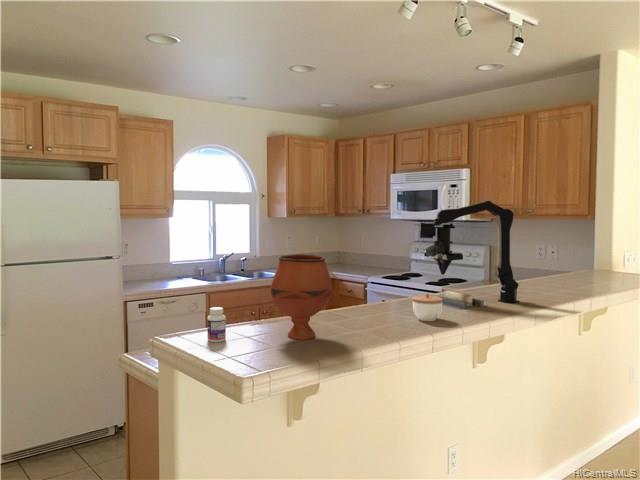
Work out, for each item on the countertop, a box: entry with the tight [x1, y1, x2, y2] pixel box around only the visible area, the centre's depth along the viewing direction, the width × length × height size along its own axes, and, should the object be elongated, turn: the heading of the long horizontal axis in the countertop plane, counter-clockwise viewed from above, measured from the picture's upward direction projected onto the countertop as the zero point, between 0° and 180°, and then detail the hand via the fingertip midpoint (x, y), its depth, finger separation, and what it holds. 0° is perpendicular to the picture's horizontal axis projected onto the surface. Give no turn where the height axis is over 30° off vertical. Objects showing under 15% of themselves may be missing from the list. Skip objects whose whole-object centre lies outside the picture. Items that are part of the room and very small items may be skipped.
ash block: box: [444, 289, 473, 307], centre depth 214 cm, size 6×10×5 cm, turn 25°
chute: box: [436, 295, 489, 310], centre depth 214 cm, size 15×16×2 cm
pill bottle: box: [206, 306, 227, 343], centre depth 154 cm, size 5×5×10 cm
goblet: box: [270, 253, 333, 340], centre depth 159 cm, size 19×19×25 cm
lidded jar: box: [411, 292, 443, 322], centre depth 185 cm, size 11×11×9 cm
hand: (442, 274), depth 222 cm, fingers closed
